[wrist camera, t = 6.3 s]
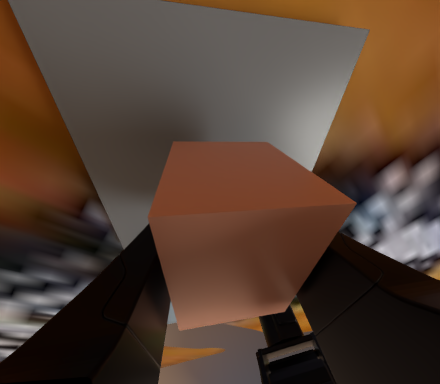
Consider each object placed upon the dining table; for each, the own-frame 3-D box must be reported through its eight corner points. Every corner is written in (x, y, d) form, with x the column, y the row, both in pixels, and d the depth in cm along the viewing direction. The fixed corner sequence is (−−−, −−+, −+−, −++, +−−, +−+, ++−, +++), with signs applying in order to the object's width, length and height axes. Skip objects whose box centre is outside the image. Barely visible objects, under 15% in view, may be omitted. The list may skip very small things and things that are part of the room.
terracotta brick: (249, 227, 11) (284, 311, 7) (184, 233, 10) (179, 330, 6) (267, 141, 8) (356, 202, 4) (173, 141, 7) (147, 217, 3)
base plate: (279, 229, 18) (284, 237, 17) (129, 242, 15) (125, 253, 14) (350, 36, 9) (369, 29, 8) (26, -6, 7) (-4, -23, 6)
